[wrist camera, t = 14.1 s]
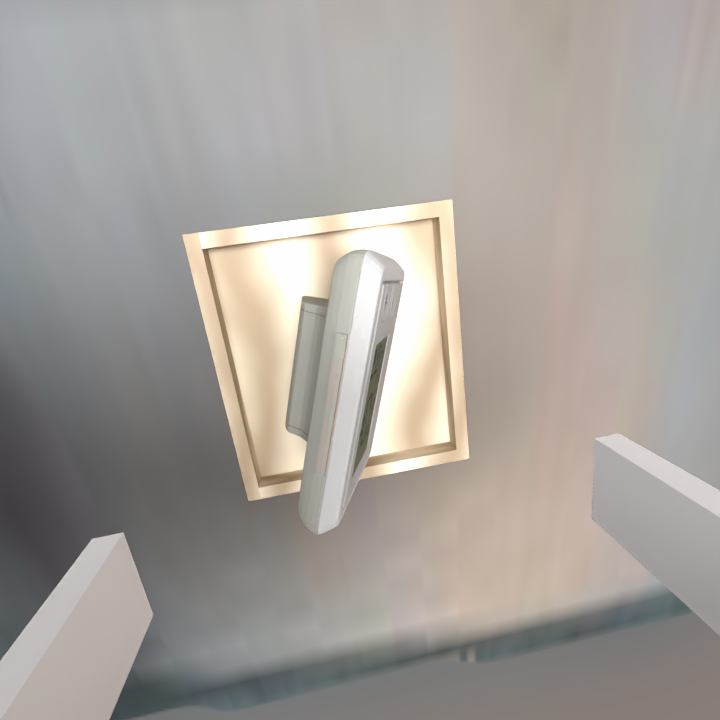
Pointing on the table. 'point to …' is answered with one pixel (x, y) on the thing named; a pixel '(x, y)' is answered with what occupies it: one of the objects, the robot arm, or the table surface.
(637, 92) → the table surface
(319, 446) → the digital clock
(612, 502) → the robot arm
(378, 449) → the birch tray
